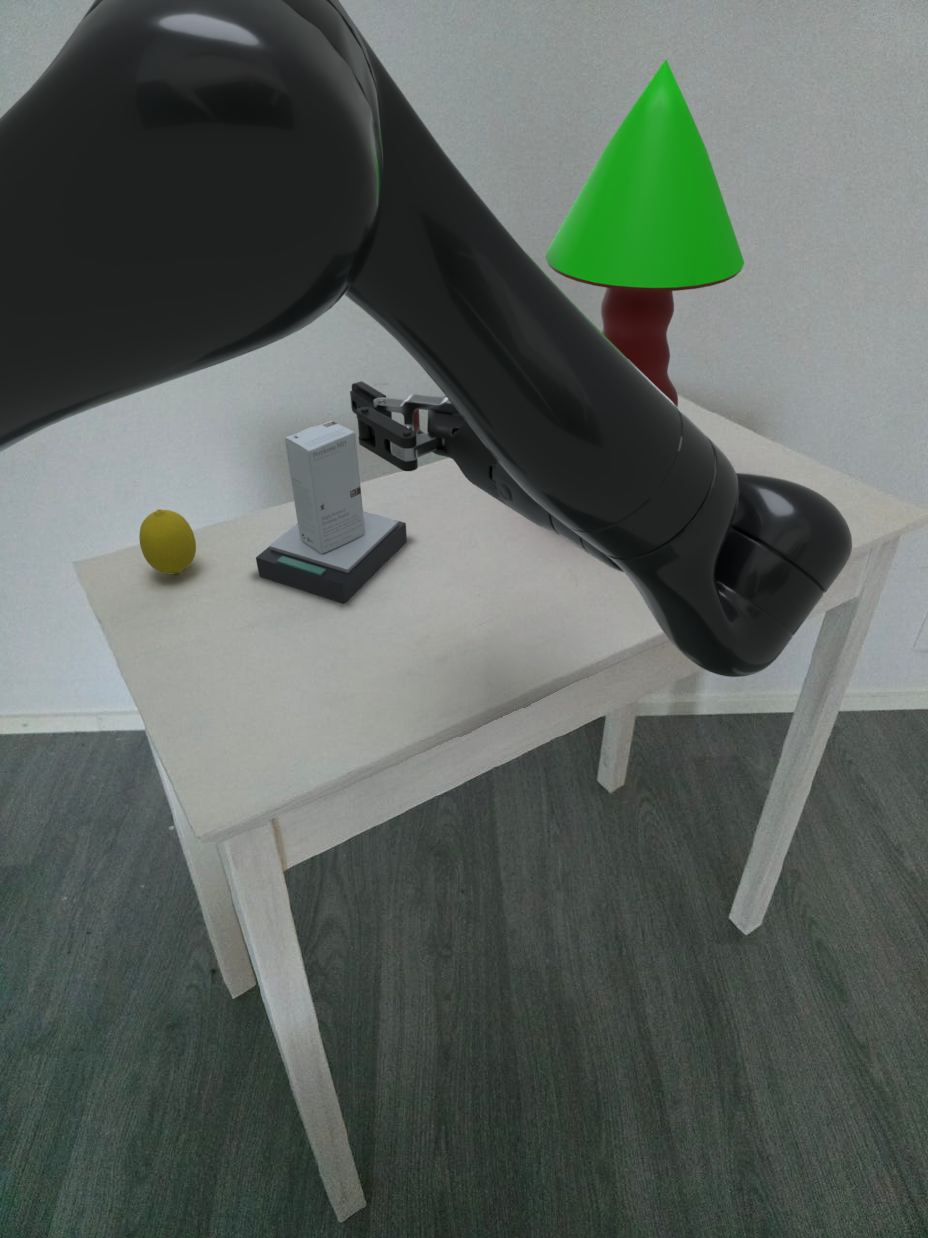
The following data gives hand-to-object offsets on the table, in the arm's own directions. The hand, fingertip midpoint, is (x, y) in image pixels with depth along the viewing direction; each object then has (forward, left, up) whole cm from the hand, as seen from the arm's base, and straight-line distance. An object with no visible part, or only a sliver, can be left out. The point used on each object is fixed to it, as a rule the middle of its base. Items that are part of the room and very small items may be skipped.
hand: (403, 380), depth 64 cm
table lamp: (+34, -8, -27) cm, 44 cm away
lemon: (-1, +30, -27) cm, 40 cm away
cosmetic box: (+9, +15, -24) cm, 30 cm away
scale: (+9, +16, -27) cm, 32 cm away
